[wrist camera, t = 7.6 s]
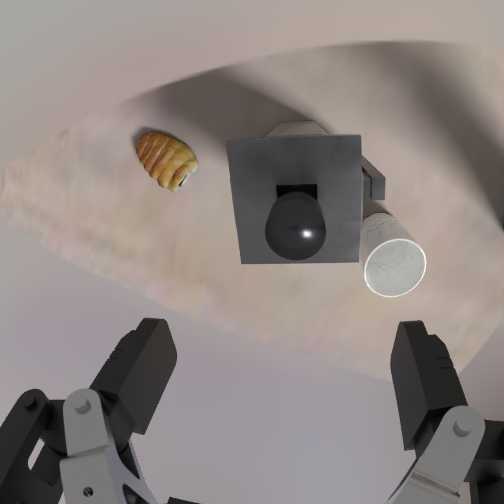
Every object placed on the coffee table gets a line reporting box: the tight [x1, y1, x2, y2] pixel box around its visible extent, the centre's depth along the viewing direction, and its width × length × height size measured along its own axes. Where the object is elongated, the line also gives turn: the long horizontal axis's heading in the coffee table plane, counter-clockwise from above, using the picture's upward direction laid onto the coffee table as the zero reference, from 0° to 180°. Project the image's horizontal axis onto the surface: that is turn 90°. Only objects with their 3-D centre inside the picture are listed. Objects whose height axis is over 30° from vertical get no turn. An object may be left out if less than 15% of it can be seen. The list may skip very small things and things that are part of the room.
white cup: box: [359, 213, 426, 297], centre depth 38 cm, size 8×8×10 cm
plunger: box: [265, 184, 326, 260], centre depth 25 cm, size 8×8×15 cm
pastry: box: [136, 132, 198, 192], centre depth 40 cm, size 9×7×4 cm
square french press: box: [226, 121, 385, 264], centre depth 31 cm, size 13×10×19 cm
